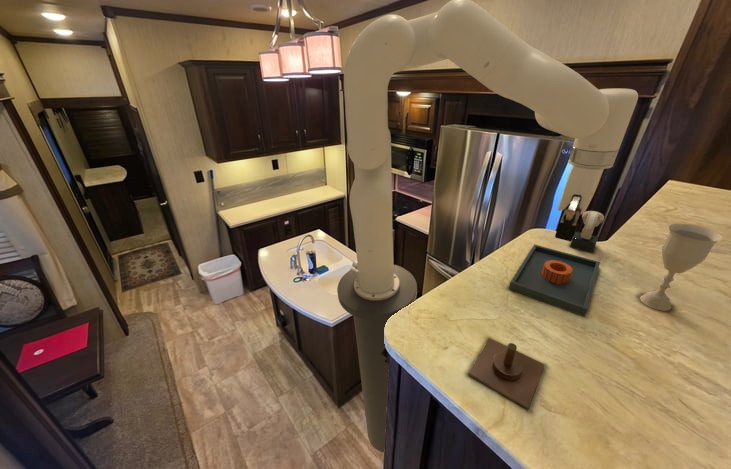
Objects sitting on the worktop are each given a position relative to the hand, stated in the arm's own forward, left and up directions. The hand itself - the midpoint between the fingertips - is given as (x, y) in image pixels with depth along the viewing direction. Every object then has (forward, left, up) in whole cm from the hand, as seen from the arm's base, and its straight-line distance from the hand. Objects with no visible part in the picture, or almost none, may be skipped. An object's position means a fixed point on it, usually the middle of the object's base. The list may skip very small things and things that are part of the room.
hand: (567, 230), depth 67 cm
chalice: (+19, +3, -14) cm, 24 cm away
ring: (0, 0, -13) cm, 13 cm away
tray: (0, 0, -14) cm, 14 cm away
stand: (-1, -34, -14) cm, 36 cm away
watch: (+3, +21, -14) cm, 26 cm away
